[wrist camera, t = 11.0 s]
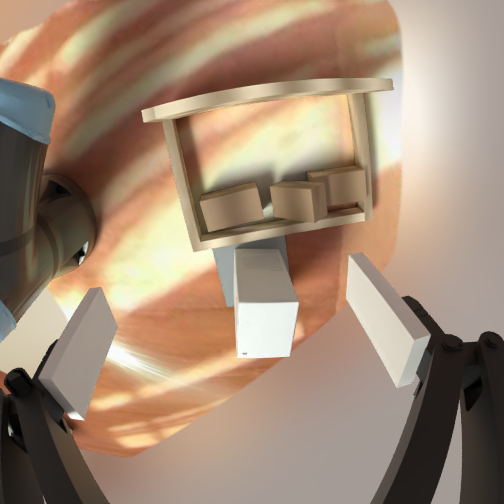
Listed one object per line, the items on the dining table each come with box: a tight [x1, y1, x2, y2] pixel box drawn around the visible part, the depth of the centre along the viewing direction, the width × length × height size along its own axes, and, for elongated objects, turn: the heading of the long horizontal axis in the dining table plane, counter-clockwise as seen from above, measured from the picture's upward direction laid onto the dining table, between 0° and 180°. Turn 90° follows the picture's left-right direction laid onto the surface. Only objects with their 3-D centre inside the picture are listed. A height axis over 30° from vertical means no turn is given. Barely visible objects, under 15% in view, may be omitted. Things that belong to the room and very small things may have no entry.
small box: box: [234, 249, 299, 358], centre depth 36 cm, size 8×6×13 cm
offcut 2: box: [270, 180, 327, 223], centre depth 35 cm, size 6×4×3 cm
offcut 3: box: [306, 166, 367, 206], centre depth 36 cm, size 7×4×4 cm, turn 100°
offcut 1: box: [200, 182, 264, 232], centre depth 36 cm, size 7×4×4 cm, turn 103°
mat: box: [212, 235, 290, 307], centre depth 42 cm, size 10×10×1 cm
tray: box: [141, 78, 394, 252], centre depth 31 cm, size 24×18×10 cm
